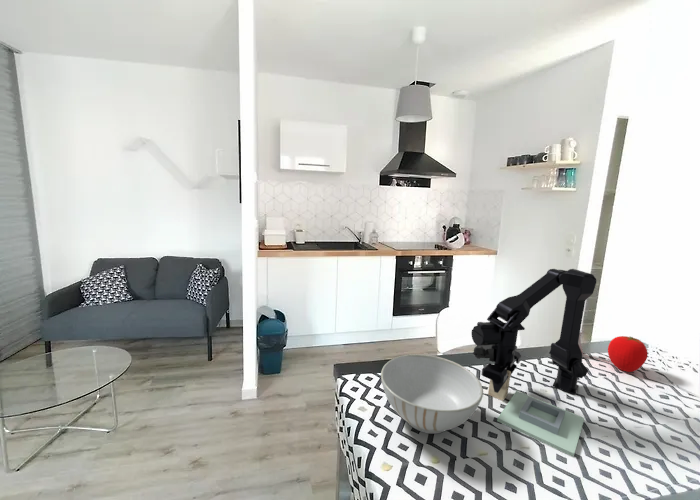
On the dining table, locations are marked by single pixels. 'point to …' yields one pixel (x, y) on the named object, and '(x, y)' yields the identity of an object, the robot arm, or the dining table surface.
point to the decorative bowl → (431, 391)
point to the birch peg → (503, 391)
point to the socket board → (543, 422)
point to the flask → (580, 343)
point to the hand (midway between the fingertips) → (498, 388)
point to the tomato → (627, 353)
